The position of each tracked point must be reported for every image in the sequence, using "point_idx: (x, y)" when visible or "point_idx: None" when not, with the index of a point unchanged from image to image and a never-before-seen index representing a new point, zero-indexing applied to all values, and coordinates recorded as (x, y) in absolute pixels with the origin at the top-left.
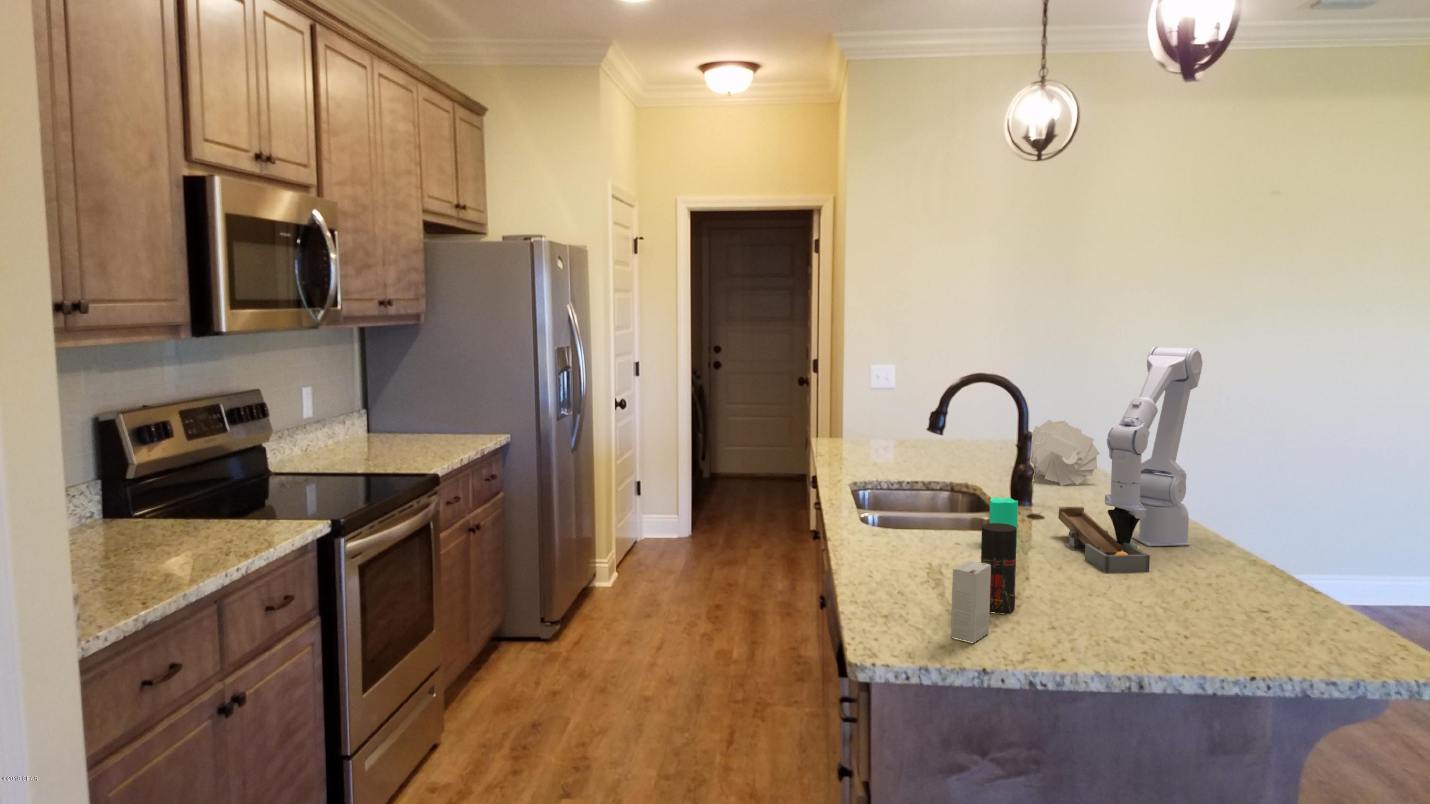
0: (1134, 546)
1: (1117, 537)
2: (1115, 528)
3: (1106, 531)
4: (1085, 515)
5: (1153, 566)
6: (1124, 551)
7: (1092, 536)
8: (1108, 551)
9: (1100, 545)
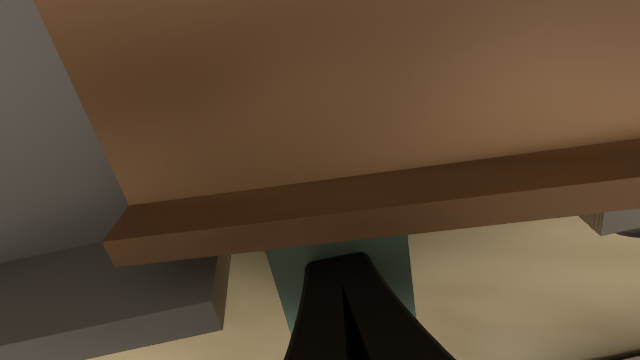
0: None
1: (342, 287)
2: (394, 355)
3: (607, 227)
4: None
5: None
6: None
7: (538, 30)
8: (104, 109)
9: (253, 61)
